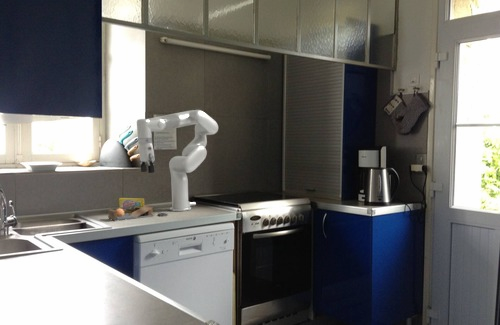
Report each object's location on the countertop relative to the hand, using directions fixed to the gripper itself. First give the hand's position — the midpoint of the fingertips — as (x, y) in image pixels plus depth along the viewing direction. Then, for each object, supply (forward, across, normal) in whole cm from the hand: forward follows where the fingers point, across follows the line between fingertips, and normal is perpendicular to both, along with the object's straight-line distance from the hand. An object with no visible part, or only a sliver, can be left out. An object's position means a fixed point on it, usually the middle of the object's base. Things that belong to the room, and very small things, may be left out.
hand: (147, 172), depth 259 cm
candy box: (+24, +16, +5) cm, 29 cm away
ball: (+20, -2, +19) cm, 27 cm away
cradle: (+24, -8, -3) cm, 25 cm away
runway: (+23, -2, +12) cm, 26 cm away
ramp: (+23, -2, +12) cm, 26 cm away
